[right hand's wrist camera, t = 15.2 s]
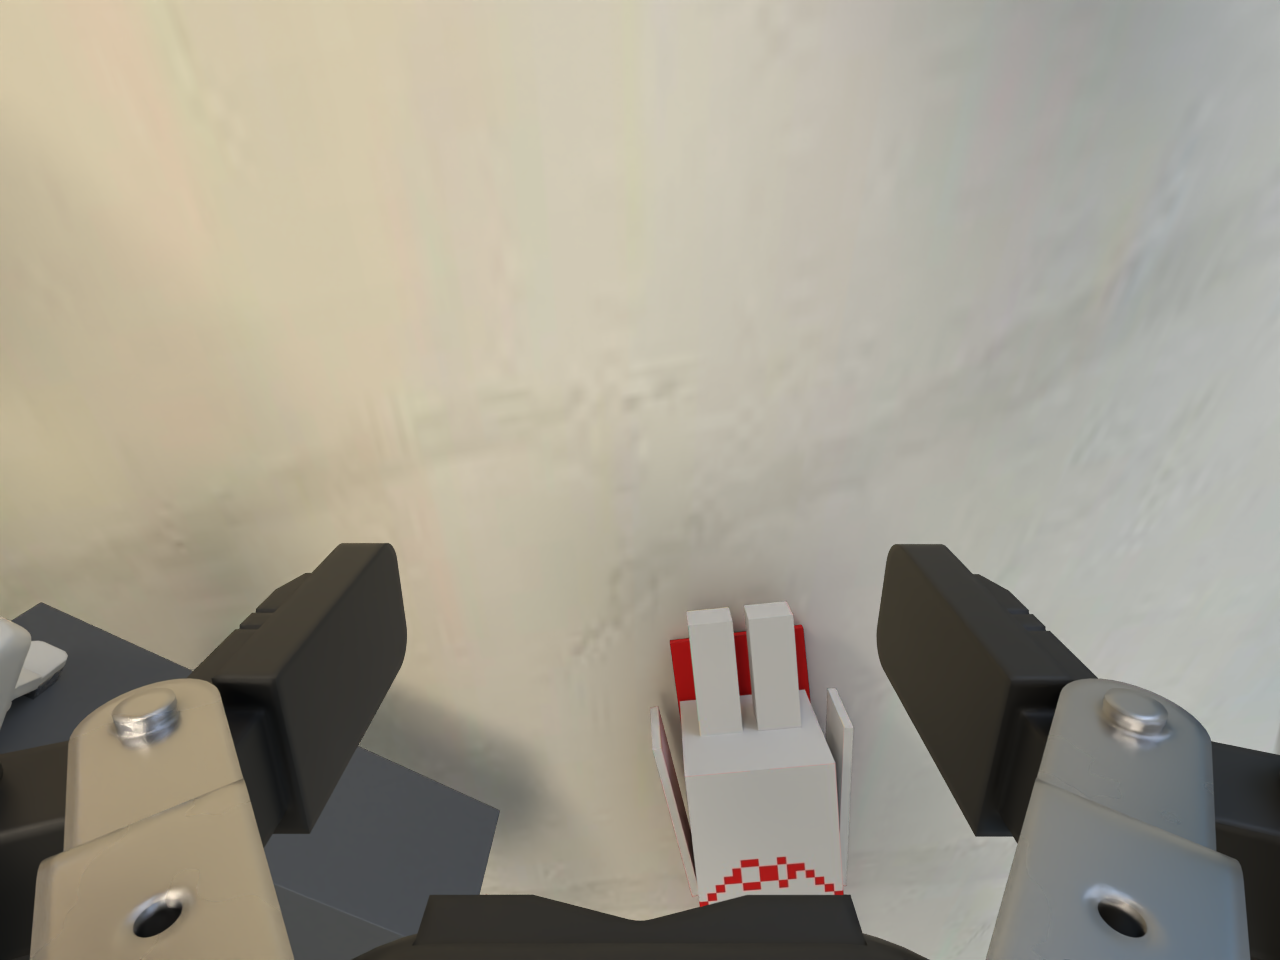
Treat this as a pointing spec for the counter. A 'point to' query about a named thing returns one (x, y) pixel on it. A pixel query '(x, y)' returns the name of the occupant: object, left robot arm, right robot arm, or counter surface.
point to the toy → (755, 761)
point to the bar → (299, 863)
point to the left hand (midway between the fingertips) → (32, 704)
